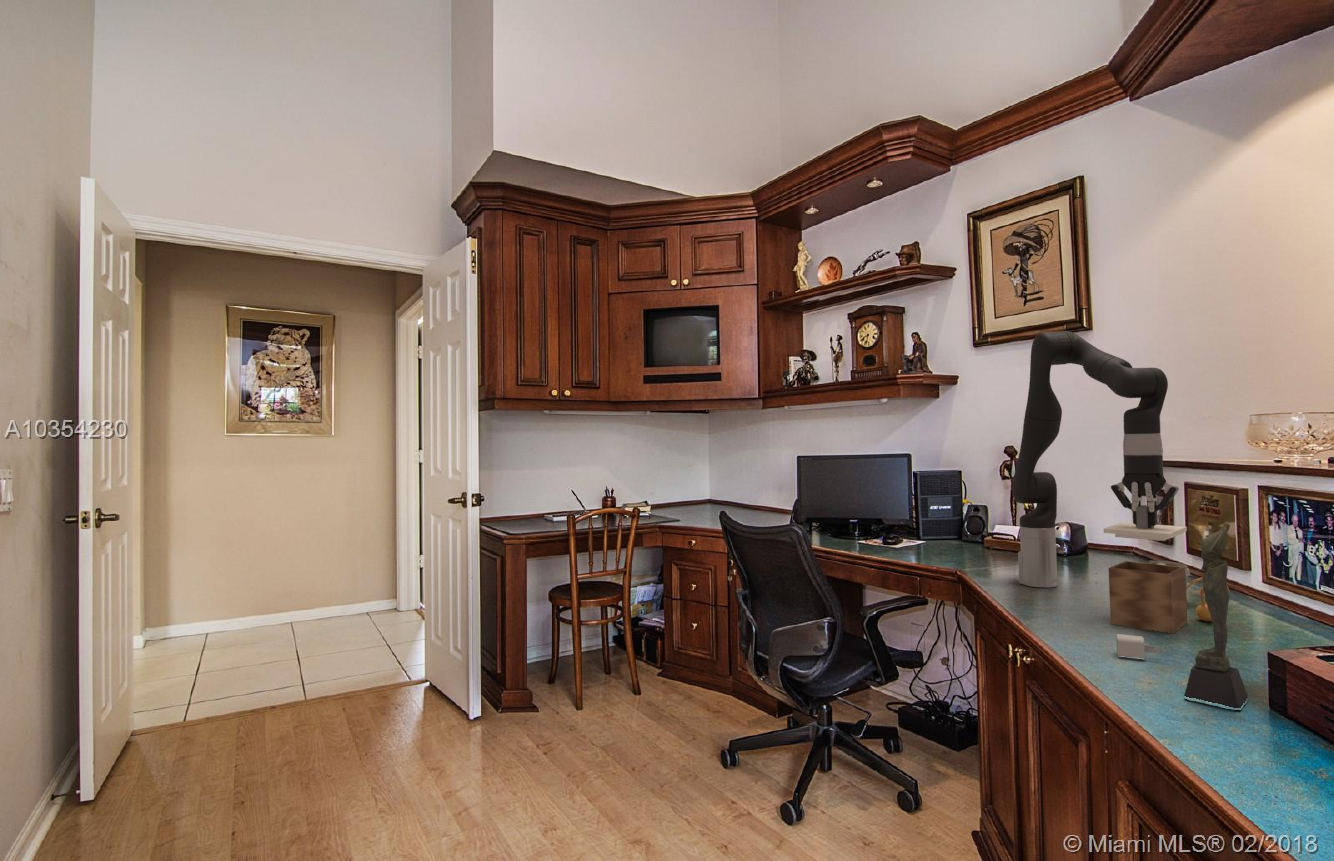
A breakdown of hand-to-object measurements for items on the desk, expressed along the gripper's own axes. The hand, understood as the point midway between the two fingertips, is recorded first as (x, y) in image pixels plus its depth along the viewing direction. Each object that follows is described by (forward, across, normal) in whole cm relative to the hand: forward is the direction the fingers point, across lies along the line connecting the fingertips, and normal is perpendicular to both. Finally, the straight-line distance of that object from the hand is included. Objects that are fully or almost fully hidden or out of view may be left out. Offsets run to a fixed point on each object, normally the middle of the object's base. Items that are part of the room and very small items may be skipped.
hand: (1145, 527), depth 158 cm
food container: (+23, -1, +26) cm, 35 cm away
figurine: (+23, +9, +10) cm, 26 cm away
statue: (+22, +21, -45) cm, 55 cm away
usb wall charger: (+23, +6, -29) cm, 37 cm away
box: (+22, 0, 0) cm, 22 cm away
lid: (+1, 0, 0) cm, 1 cm away
